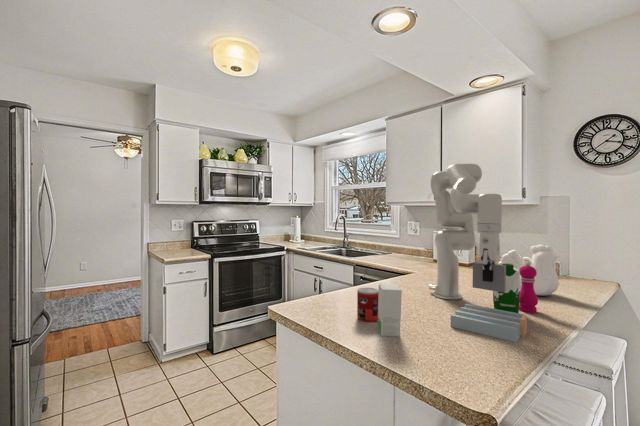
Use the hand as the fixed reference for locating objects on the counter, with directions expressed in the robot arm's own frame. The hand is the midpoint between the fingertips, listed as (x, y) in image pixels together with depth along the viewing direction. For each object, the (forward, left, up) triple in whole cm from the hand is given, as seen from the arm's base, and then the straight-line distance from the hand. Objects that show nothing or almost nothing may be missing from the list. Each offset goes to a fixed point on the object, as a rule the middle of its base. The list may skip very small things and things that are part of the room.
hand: (488, 280), depth 110 cm
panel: (0, 0, -3) cm, 3 cm away
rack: (0, 0, -16) cm, 16 cm away
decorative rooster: (+4, +64, -17) cm, 66 cm away
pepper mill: (+8, +30, -17) cm, 35 cm away
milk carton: (+2, +20, -17) cm, 26 cm away
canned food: (-36, -22, -17) cm, 45 cm away
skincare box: (-24, -28, -17) cm, 40 cm away
